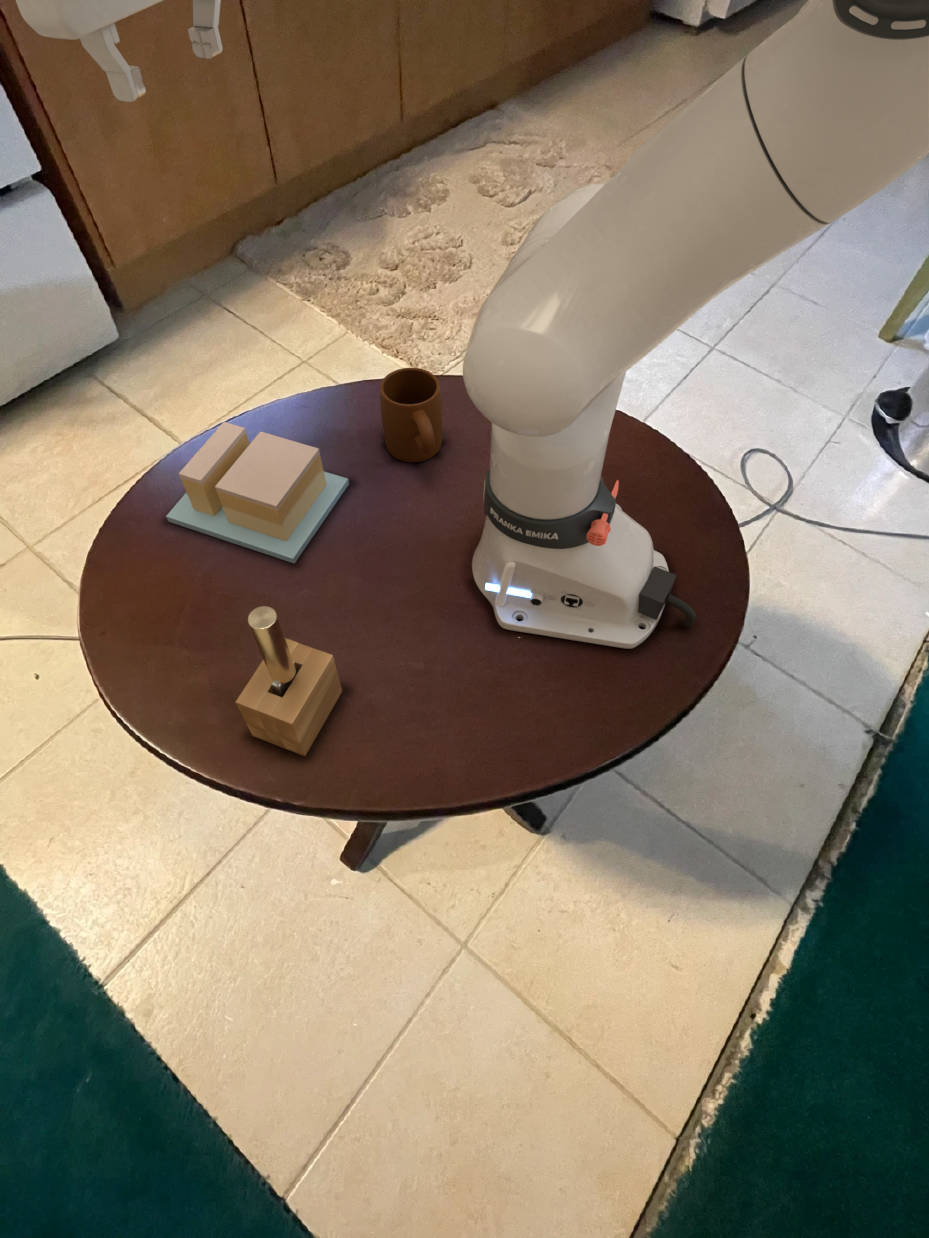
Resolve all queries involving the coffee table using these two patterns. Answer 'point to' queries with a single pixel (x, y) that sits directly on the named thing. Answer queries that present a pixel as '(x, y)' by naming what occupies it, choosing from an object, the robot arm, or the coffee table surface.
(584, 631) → the robot arm
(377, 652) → the coffee table surface
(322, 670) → the knife block
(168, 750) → the coffee table surface
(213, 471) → the cake slice
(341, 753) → the coffee table surface
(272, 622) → the knife
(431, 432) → the mug
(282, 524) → the cake
